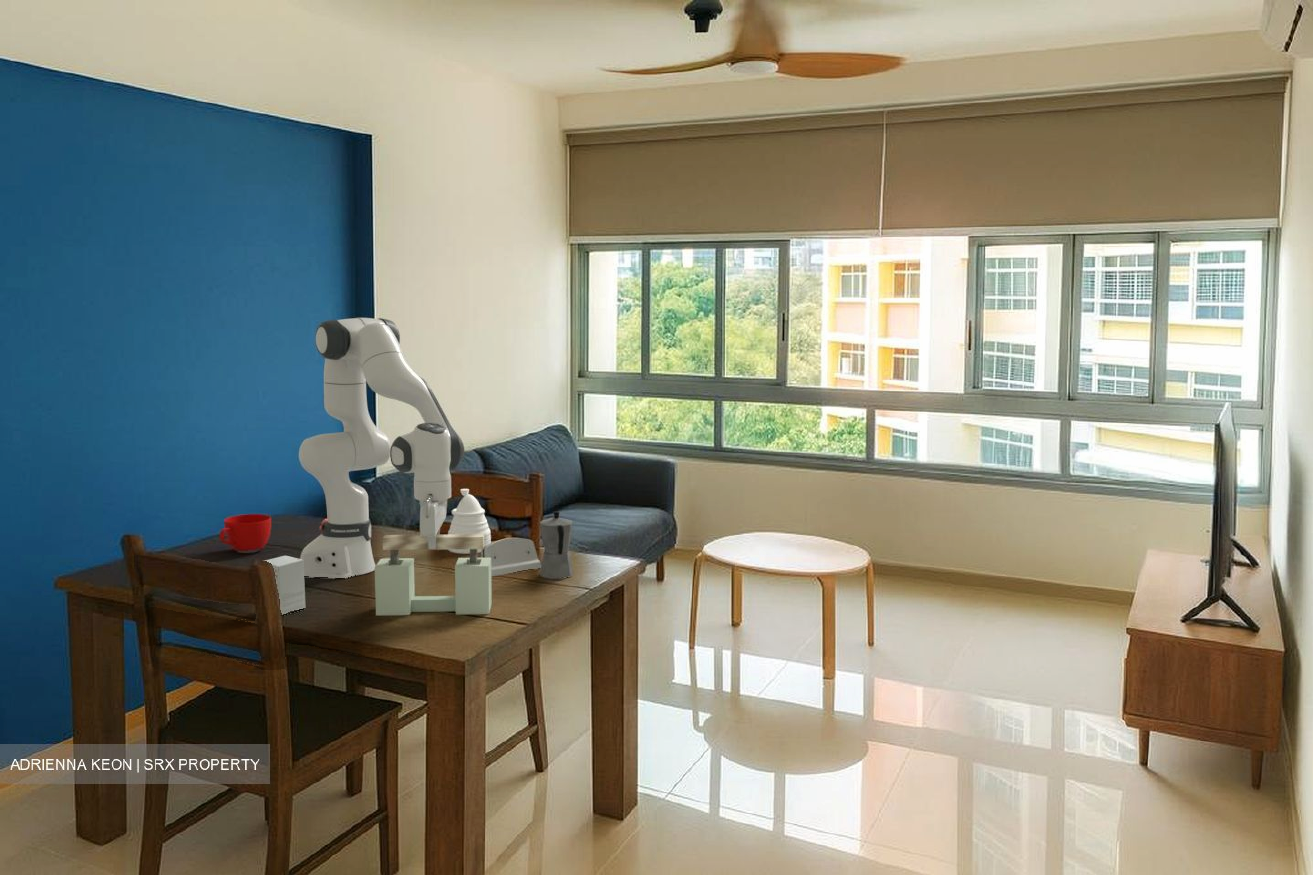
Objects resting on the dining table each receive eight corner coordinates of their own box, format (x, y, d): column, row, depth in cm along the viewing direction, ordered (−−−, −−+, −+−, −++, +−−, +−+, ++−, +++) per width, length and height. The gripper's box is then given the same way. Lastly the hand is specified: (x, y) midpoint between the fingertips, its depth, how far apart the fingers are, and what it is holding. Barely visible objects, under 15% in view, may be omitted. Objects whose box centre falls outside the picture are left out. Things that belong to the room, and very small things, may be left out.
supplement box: (287, 603, 252) (285, 554, 250) (306, 609, 248) (304, 559, 246) (261, 611, 246) (259, 560, 244) (280, 617, 242) (278, 565, 240)
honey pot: (439, 548, 308) (438, 490, 306) (472, 541, 318) (472, 484, 315) (466, 555, 300) (465, 496, 297) (499, 548, 310) (499, 490, 307)
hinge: (489, 576, 278) (483, 540, 280) (482, 578, 282) (476, 543, 283) (542, 567, 288) (536, 533, 289) (535, 569, 292) (529, 535, 293)
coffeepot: (536, 569, 286) (536, 507, 284) (569, 567, 288) (569, 505, 286) (544, 584, 271) (544, 519, 269) (578, 582, 274) (579, 517, 271)
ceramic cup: (205, 557, 295) (203, 523, 293) (248, 544, 310) (247, 512, 309) (239, 562, 290) (237, 528, 288) (281, 548, 305) (280, 516, 304)
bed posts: (376, 615, 244) (374, 567, 242) (382, 605, 252) (381, 558, 250) (488, 613, 246) (488, 566, 244) (491, 603, 254) (491, 557, 252)
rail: (383, 564, 245) (382, 537, 244) (385, 560, 248) (384, 534, 247) (483, 563, 247) (482, 537, 246) (484, 559, 250) (484, 534, 249)
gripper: (440, 499, 235) (441, 557, 237) (450, 483, 255) (451, 536, 257) (412, 499, 234) (414, 557, 236) (425, 483, 254) (426, 536, 256)
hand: (433, 546), depth 247 cm, fingers closed on rail, 3 cm apart
